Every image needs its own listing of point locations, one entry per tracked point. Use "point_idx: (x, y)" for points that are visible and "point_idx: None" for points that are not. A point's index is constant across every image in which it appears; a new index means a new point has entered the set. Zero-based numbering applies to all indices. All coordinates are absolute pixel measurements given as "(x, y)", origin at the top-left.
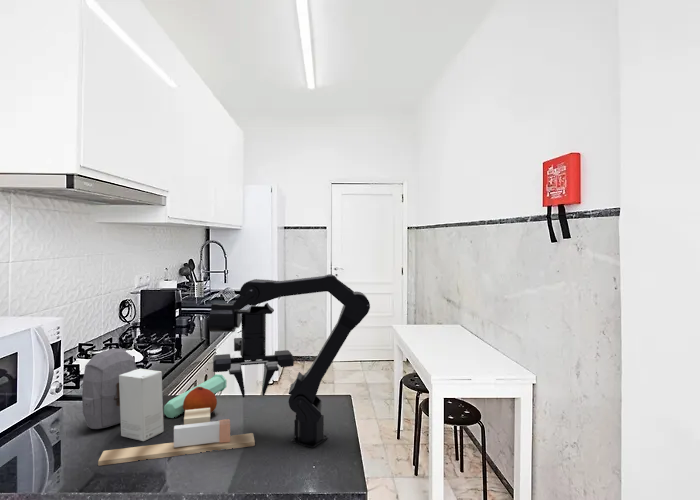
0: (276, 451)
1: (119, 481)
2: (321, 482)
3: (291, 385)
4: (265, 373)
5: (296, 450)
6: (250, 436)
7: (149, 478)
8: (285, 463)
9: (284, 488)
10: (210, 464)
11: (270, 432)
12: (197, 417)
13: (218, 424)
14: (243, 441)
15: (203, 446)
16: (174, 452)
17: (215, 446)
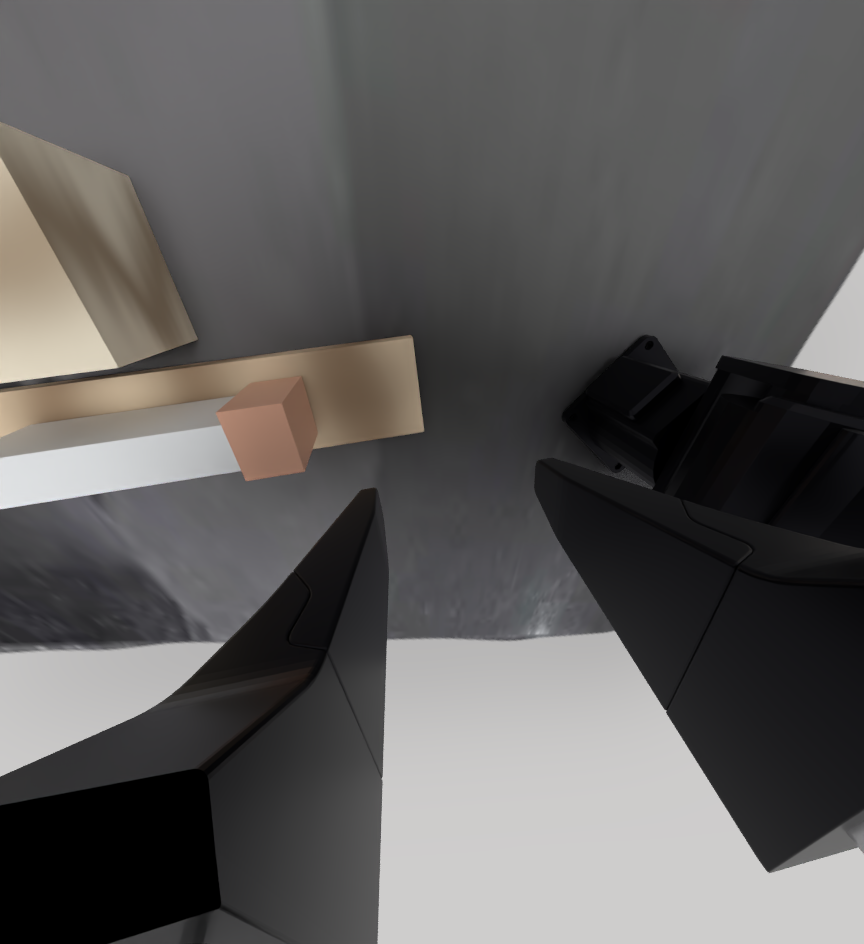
0: (496, 474)
1: (15, 607)
2: (568, 611)
3: (831, 481)
4: (715, 721)
5: None
6: (403, 377)
7: (112, 595)
8: (510, 541)
9: (489, 627)
10: (282, 536)
11: (495, 290)
12: (17, 375)
13: (235, 471)
14: (376, 425)
15: None
16: None
17: None
